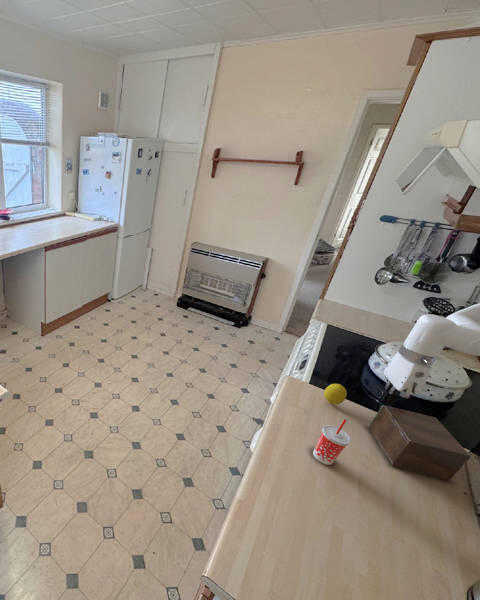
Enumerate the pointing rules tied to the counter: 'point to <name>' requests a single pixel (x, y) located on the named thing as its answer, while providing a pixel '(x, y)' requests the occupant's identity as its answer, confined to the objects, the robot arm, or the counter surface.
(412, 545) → the counter surface
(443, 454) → the cabinet
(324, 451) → the beverage cup
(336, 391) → the lemon
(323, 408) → the counter surface
